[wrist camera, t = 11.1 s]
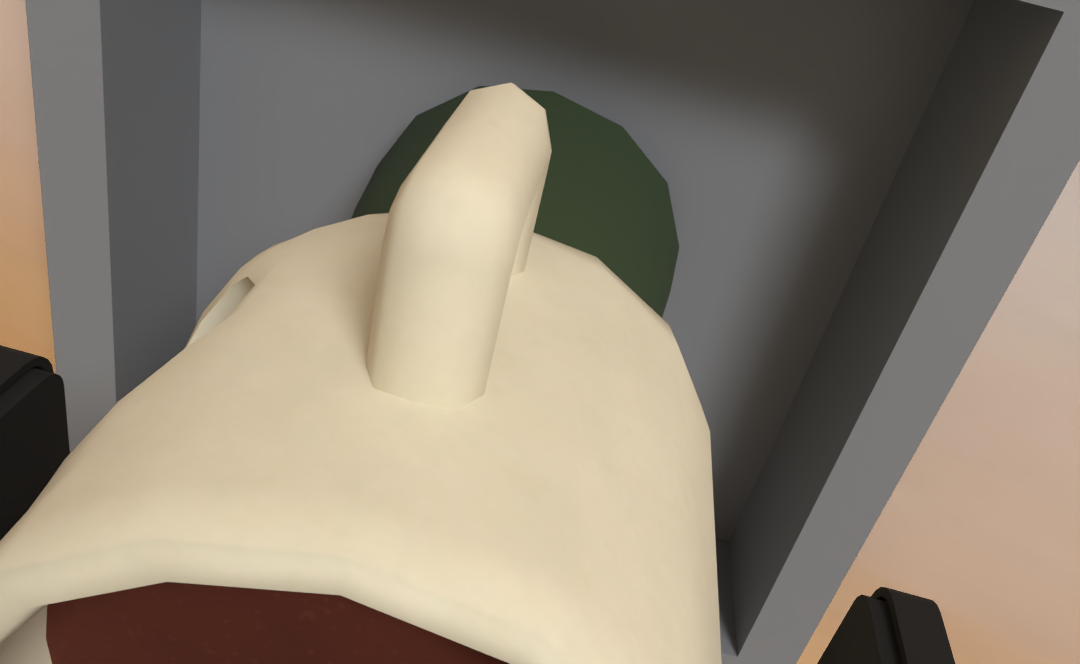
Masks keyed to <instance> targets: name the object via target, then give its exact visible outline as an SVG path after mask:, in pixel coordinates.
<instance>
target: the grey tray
mask: <svg viewBox="0 0 1080 664" xmlns="http://www.w3.org/2000/svg"><path fill="white" fill-rule="evenodd" d="M26 13H27V25H28V37H29V49H30V61H31V73H32V85H33V97H34V109H35V121H36V133H37V145H38V157H39V169H40V181H41V193H42V205H43V217H44V229H45V241H46V253H47V266H48V278H49V290H50V302H51V314H52V326H53V338H54V350H55V362H56V374H58V375H60V376H61V378H62V379H63V383H64V389H65V401H66V413H67V425H68V437H69V449H70V453H71V452H72V451H73V450H74V449H75V448H76V447H77V446H78V444H79V443H80V442H81V441H82V440H83V439H84V438H85V437H86V436H87V435H88V434H89V433H90V432H91V430H92V429H93V428H94V427H95V426H96V425H97V424H98V423H99V422H100V421H101V420H102V419H103V418H104V416H105V415H106V414H107V413H108V412H109V411H110V410H111V409H112V408H113V407H114V406H115V405H116V404H117V402H118V401H120V400H121V399H122V398H123V397H125V396H126V395H127V394H128V393H130V392H131V391H132V390H133V389H135V388H136V387H137V386H139V385H140V384H141V383H142V382H144V381H145V380H146V379H147V378H149V377H150V376H151V375H152V374H154V373H155V372H156V371H157V370H159V369H160V368H161V367H162V366H164V365H165V364H166V363H167V362H169V361H170V360H171V359H172V358H174V357H175V356H176V355H177V354H179V353H180V352H181V351H182V350H184V349H185V347H186V345H187V343H188V341H189V339H190V337H191V335H192V333H193V331H194V329H195V327H196V325H197V323H198V321H199V319H200V317H201V315H202V313H203V311H204V310H205V309H206V308H207V307H208V305H209V304H210V303H211V302H212V301H213V300H214V298H215V297H216V296H217V295H218V294H219V292H220V291H221V290H222V289H223V288H224V287H225V285H226V284H227V283H228V282H229V281H230V280H231V278H232V277H233V276H234V275H235V274H236V272H237V271H238V270H239V269H240V268H241V267H242V266H244V265H245V264H246V263H247V262H249V261H250V260H251V259H252V258H254V257H255V256H256V255H258V254H259V253H261V252H263V251H265V250H266V249H268V248H270V247H271V246H273V245H275V244H278V243H281V242H284V241H287V240H290V239H293V238H295V237H297V236H300V235H302V234H304V233H306V232H309V231H311V230H313V229H316V228H320V227H324V226H327V225H331V224H335V223H339V222H342V221H346V220H350V219H351V218H352V215H353V213H354V210H355V208H356V206H357V204H358V202H359V200H360V198H361V196H362V194H363V192H364V191H365V189H366V187H367V185H368V183H369V181H370V179H371V177H372V175H373V173H374V171H375V169H376V167H377V165H378V164H379V163H380V161H381V160H382V159H383V157H384V156H385V155H386V154H387V152H388V151H389V150H390V148H391V147H392V146H393V145H394V143H395V142H396V141H397V139H398V138H399V137H400V136H401V134H402V133H403V132H404V130H405V129H406V128H407V127H408V125H409V124H410V123H411V121H412V120H413V119H414V118H415V116H416V115H419V114H421V113H423V112H425V111H427V110H429V109H431V108H433V107H436V106H438V105H440V104H442V103H444V102H446V101H448V100H450V99H453V98H455V97H457V96H459V95H461V94H463V93H465V92H468V91H470V90H472V89H474V88H476V87H478V86H489V87H491V86H496V85H501V84H506V83H513V84H515V85H516V86H518V87H519V88H520V89H528V90H541V91H554V92H556V93H558V94H560V95H562V96H564V97H565V98H567V99H569V100H571V101H573V102H575V103H577V104H579V105H581V106H583V107H585V108H587V109H589V110H591V111H593V112H595V113H597V114H599V115H601V116H603V117H605V118H607V119H609V120H611V121H613V122H615V123H617V124H619V125H621V126H623V128H624V129H625V130H626V131H627V133H628V134H629V135H630V136H631V138H632V139H633V140H634V141H635V143H636V144H637V145H638V146H639V148H640V149H641V150H642V151H643V153H644V154H645V155H646V156H647V158H648V159H649V160H650V161H651V163H652V164H653V165H654V166H655V168H656V169H657V170H658V172H659V173H660V174H661V175H662V177H663V178H664V179H665V180H666V182H667V183H668V188H669V193H670V199H671V204H672V210H673V215H674V220H675V226H676V231H677V237H678V242H679V252H678V257H677V262H676V266H675V271H674V276H673V281H672V286H671V291H670V295H669V298H668V301H667V304H666V307H665V310H664V313H663V317H662V319H663V320H664V321H665V322H667V323H668V324H669V326H670V328H671V330H672V333H673V335H674V337H675V340H676V342H677V344H678V346H679V349H680V352H681V354H682V357H683V359H684V362H685V365H686V367H687V370H688V372H689V375H690V378H691V380H692V383H693V385H694V388H695V390H696V393H697V396H698V398H699V401H700V403H701V406H702V409H703V412H704V415H705V418H706V421H707V424H708V427H709V430H710V441H711V461H712V481H713V501H714V521H715V541H716V561H717V581H718V601H719V621H720V641H721V661H722V664H796V663H797V661H798V659H799V658H800V656H801V654H802V652H803V651H804V649H805V647H806V645H807V643H808V642H809V640H810V638H811V636H812V635H813V633H814V631H815V629H816V627H817V626H818V624H819V622H820V620H821V619H822V617H823V615H824V613H825V611H826V610H827V608H828V606H829V604H830V603H831V601H832V599H833V597H834V595H835V594H836V592H837V590H838V588H839V587H840V585H841V583H842V581H843V579H844V578H845V576H846V574H847V572H848V571H849V569H850V567H851V565H852V563H853V562H854V560H855V558H856V556H857V555H858V553H859V551H860V549H861V548H862V546H863V544H864V542H865V540H866V539H867V537H868V535H869V533H870V532H871V530H872V528H873V526H874V524H875V523H876V521H877V519H878V517H879V516H880V514H881V512H882V510H883V508H884V507H885V505H886V503H887V501H888V500H889V498H890V496H891V494H892V492H893V491H894V489H895V487H896V485H897V484H898V482H899V480H900V478H901V476H902V475H903V473H904V471H905V469H906V468H907V466H908V464H909V462H910V460H911V459H912V457H913V455H914V453H915V452H916V450H917V448H918V446H919V444H920V443H921V441H922V439H923V437H924V436H925V434H926V432H927V430H928V428H929V427H930V425H931V423H932V421H933V420H934V418H935V416H936V414H937V412H938V411H939V409H940V407H941V405H942V404H943V402H944V400H945V398H946V396H947V395H948V393H949V391H950V389H951V388H952V386H953V384H954V382H955V380H956V379H957V377H958V375H959V373H960V372H961V370H962V368H963V366H964V364H965V363H966V361H967V359H968V357H969V356H970V354H971V352H972V350H973V348H974V347H975V345H976V343H977V341H978V340H979V338H980V336H981V334H982V332H983V331H984V329H985V327H986V325H987V324H988V322H989V320H990V318H991V316H992V315H993V313H994V311H995V309H996V308H997V306H998V304H999V302H1000V300H1001V299H1002V297H1003V295H1004V293H1005V292H1006V290H1007V288H1008V286H1009V284H1010V283H1011V281H1012V279H1013V277H1014V276H1015V274H1016V272H1017V270H1018V268H1019V267H1020V265H1021V263H1022V261H1023V260H1024V258H1025V256H1026V254H1027V252H1028V251H1029V249H1030V247H1031V245H1032V244H1033V242H1034V240H1035V238H1036V236H1037V235H1038V233H1039V231H1040V229H1041V228H1042V226H1043V224H1044V222H1045V220H1046V219H1047V217H1048V215H1049V213H1050V212H1051V210H1052V208H1053V206H1054V205H1055V203H1056V201H1057V199H1058V197H1059V196H1060V194H1061V192H1062V190H1063V189H1064V187H1065V185H1066V183H1067V181H1068V180H1069V178H1070V176H1071V174H1072V173H1073V171H1074V169H1075V167H1076V165H1077V164H1078V162H1079V160H1080V0H26Z"/></svg>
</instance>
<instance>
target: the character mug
mask: <svg viewBox="0 0 1080 664" xmlns="http://www.w3.org/2000/svg"><path fill="white" fill-rule="evenodd" d="M678 252H679V242H678V237H677V231H676V226H675V220H674V215H673V210H672V204H671V199H670V193H669V188H668V183H667V182H666V180H665V179H664V178H663V177H662V175H661V174H660V173H659V172H658V170H657V169H656V168H655V166H654V165H653V164H652V163H651V161H650V160H649V159H648V158H647V156H646V155H645V154H644V153H643V151H642V150H641V149H640V148H639V146H638V145H637V144H636V143H635V141H634V140H633V139H632V138H631V136H630V135H629V134H628V133H627V131H626V130H625V129H624V128H623V126H621V125H619V124H617V123H615V122H613V121H611V120H609V119H607V118H605V117H603V116H601V115H599V114H597V113H595V112H593V111H591V110H589V109H587V108H585V107H583V106H581V105H579V104H577V103H575V102H573V101H571V100H569V99H567V98H565V97H564V96H562V95H560V94H558V93H556V92H554V91H541V90H528V89H520V88H519V87H518V86H516V85H515V84H513V83H506V84H501V85H496V86H491V87H489V86H478V87H476V88H474V89H472V90H470V91H468V92H465V93H463V94H461V95H459V96H457V97H455V98H453V99H450V100H448V101H446V102H444V103H442V104H440V105H438V106H436V107H433V108H431V109H429V110H427V111H425V112H423V113H421V114H419V115H416V116H415V118H414V119H413V120H412V121H411V123H410V124H409V125H408V127H407V128H406V129H405V130H404V132H403V133H402V134H401V136H400V137H399V138H398V139H397V141H396V142H395V143H394V145H393V146H392V147H391V148H390V150H389V151H388V152H387V154H386V155H385V156H384V157H383V159H382V160H381V161H380V163H379V164H378V165H377V167H376V169H375V171H374V173H373V175H372V177H371V179H370V181H369V183H368V185H367V187H366V189H365V191H364V192H363V194H362V196H361V198H360V200H359V202H358V204H357V206H356V208H355V210H354V213H353V215H352V218H351V219H350V220H346V221H342V222H339V223H335V224H331V225H327V226H324V227H320V228H316V229H313V230H311V231H309V232H306V233H304V234H302V235H300V236H297V237H295V238H293V239H290V240H287V241H284V242H281V243H278V244H275V245H273V246H271V247H270V248H268V249H266V250H265V251H263V252H261V253H259V254H258V255H256V256H255V257H254V258H252V259H251V260H250V261H249V262H247V263H246V264H245V265H244V266H242V267H241V268H240V269H239V270H238V271H237V272H236V274H235V275H234V276H233V277H232V278H231V280H230V281H229V282H228V283H227V284H226V285H225V287H224V288H223V289H222V290H221V291H220V292H219V294H218V295H217V296H216V297H215V298H214V300H213V301H212V302H211V303H210V304H209V305H208V307H207V308H206V309H205V310H204V311H203V313H202V315H201V317H200V319H199V321H198V323H197V325H196V327H195V329H194V331H193V333H192V335H191V337H190V339H189V341H188V343H187V345H186V347H185V349H184V350H182V351H181V352H180V353H179V354H177V355H176V356H175V357H174V358H172V359H171V360H170V361H169V362H167V363H166V364H165V365H164V366H162V367H161V368H160V369H159V370H157V371H156V372H155V373H154V374H152V375H151V376H150V377H149V378H147V379H146V380H145V381H144V382H142V383H141V384H140V385H139V386H137V387H136V388H135V389H133V390H132V391H131V392H130V393H128V394H127V395H126V396H125V397H123V398H122V399H121V400H120V401H118V402H117V404H116V405H115V406H114V407H113V408H112V409H111V410H110V411H109V412H108V413H107V414H106V415H105V416H104V418H103V419H102V420H101V421H100V422H99V423H98V424H97V425H96V426H95V427H94V428H93V429H92V430H91V432H90V433H89V434H88V435H87V436H86V437H85V438H84V439H83V440H82V441H81V442H80V443H79V444H78V446H77V447H76V448H75V449H74V450H73V451H72V452H71V453H70V454H69V455H68V456H67V457H66V458H65V460H64V461H63V462H62V464H61V465H60V467H59V468H58V470H57V471H56V472H55V474H54V475H53V477H52V478H51V480H50V481H49V483H48V484H47V485H46V487H45V488H44V489H43V491H42V492H41V493H40V495H39V496H38V497H37V499H36V500H35V501H34V503H33V504H32V505H31V507H30V508H29V509H28V511H27V512H26V513H25V514H24V515H23V516H22V517H21V518H20V520H19V521H18V522H17V523H16V524H15V525H14V526H13V527H12V528H11V529H10V531H9V532H8V533H7V534H6V535H5V536H4V537H3V538H2V539H1V540H0V664H722V661H721V641H720V621H719V601H718V581H717V561H716V541H715V521H714V501H713V481H712V461H711V441H710V430H709V427H708V424H707V421H706V418H705V415H704V412H703V409H702V406H701V403H700V401H699V398H698V396H697V393H696V390H695V388H694V385H693V383H692V380H691V378H690V375H689V372H688V370H687V367H686V365H685V362H684V359H683V357H682V354H681V352H680V349H679V346H678V344H677V342H676V340H675V337H674V335H673V333H672V330H671V328H670V326H669V324H668V323H667V322H665V321H664V320H663V319H662V317H663V313H664V310H665V307H666V304H667V301H668V298H669V295H670V291H671V286H672V281H673V276H674V271H675V266H676V262H677V257H678Z"/></svg>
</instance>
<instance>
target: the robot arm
mask: <svg viewBox="0 0 1080 664" xmlns="http://www.w3.org/2000/svg"><path fill="white" fill-rule="evenodd" d="M69 454H70V449H69V437H68V425H67V413H66V401H65V389H64V383H63V379H62V378H61V376H60V375H58V374H55V373H54V372H53V368H52V364H51V363H50V362H49V360H48V359H46V358H44V357H41V356H37V355H34V354H30V353H26V352H23V351H19V350H15V349H12V348H8V347H4V346H1V345H0V540H1V539H2V538H3V537H4V536H5V535H6V534H7V533H8V532H9V531H10V529H11V528H12V527H13V526H14V525H15V524H16V523H17V522H18V521H19V520H20V518H21V517H22V516H23V515H24V514H25V513H26V512H27V511H28V509H29V508H30V507H31V505H32V504H33V503H34V501H35V500H36V499H37V497H38V496H39V495H40V493H41V492H42V491H43V489H44V488H45V487H46V485H47V484H48V483H49V481H50V480H51V478H52V477H53V475H54V474H55V472H56V471H57V470H58V468H59V467H60V465H61V464H62V462H63V461H64V460H65V458H66V457H67V456H68V455H69ZM818 664H955V661H954V658H953V654H952V651H951V647H950V644H949V640H948V637H947V633H946V630H945V626H944V623H943V620H942V616H941V613H940V610H939V608H938V606H937V604H936V603H935V602H934V601H933V600H929V599H926V598H922V597H918V596H915V595H911V594H907V593H904V592H900V591H896V590H893V589H889V588H885V587H880V588H879V589H877V590H876V591H875V592H874V593H873V595H872V596H871V597H869V596H865V595H860V596H858V597H857V598H856V600H855V601H854V602H853V604H852V606H851V607H850V609H849V611H848V613H847V614H846V616H845V618H844V619H843V621H842V623H841V624H840V626H839V628H838V630H837V631H836V633H835V635H834V636H833V638H832V640H831V641H830V643H829V645H828V647H827V648H826V650H825V652H824V653H823V655H822V657H821V658H820V660H819V662H818Z"/></svg>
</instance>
